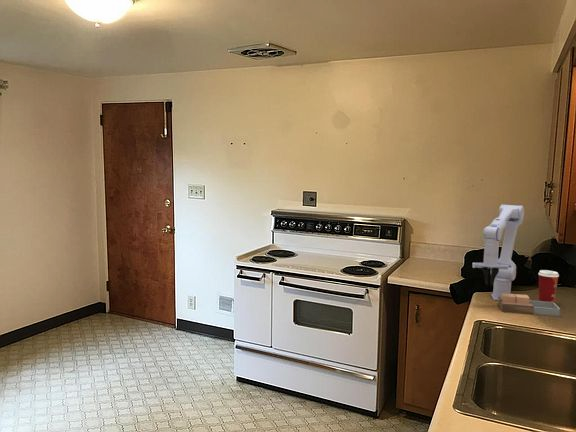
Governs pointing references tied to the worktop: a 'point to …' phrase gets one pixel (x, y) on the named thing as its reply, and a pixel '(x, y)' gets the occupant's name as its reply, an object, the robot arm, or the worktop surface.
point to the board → (515, 307)
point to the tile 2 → (522, 299)
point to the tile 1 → (508, 297)
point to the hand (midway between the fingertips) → (489, 284)
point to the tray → (545, 308)
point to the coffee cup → (547, 285)
